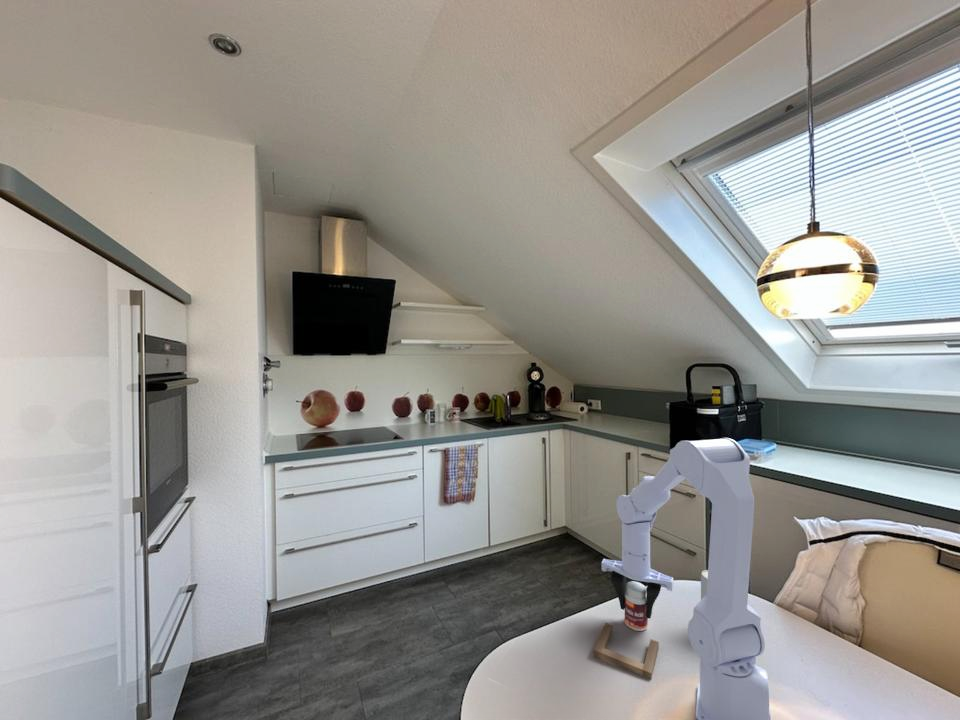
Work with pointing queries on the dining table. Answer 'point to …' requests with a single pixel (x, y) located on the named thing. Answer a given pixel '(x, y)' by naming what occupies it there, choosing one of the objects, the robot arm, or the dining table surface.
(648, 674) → the socket block
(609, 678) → the dining table surface
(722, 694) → the robot arm
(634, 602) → the pill bottle
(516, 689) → the dining table surface
